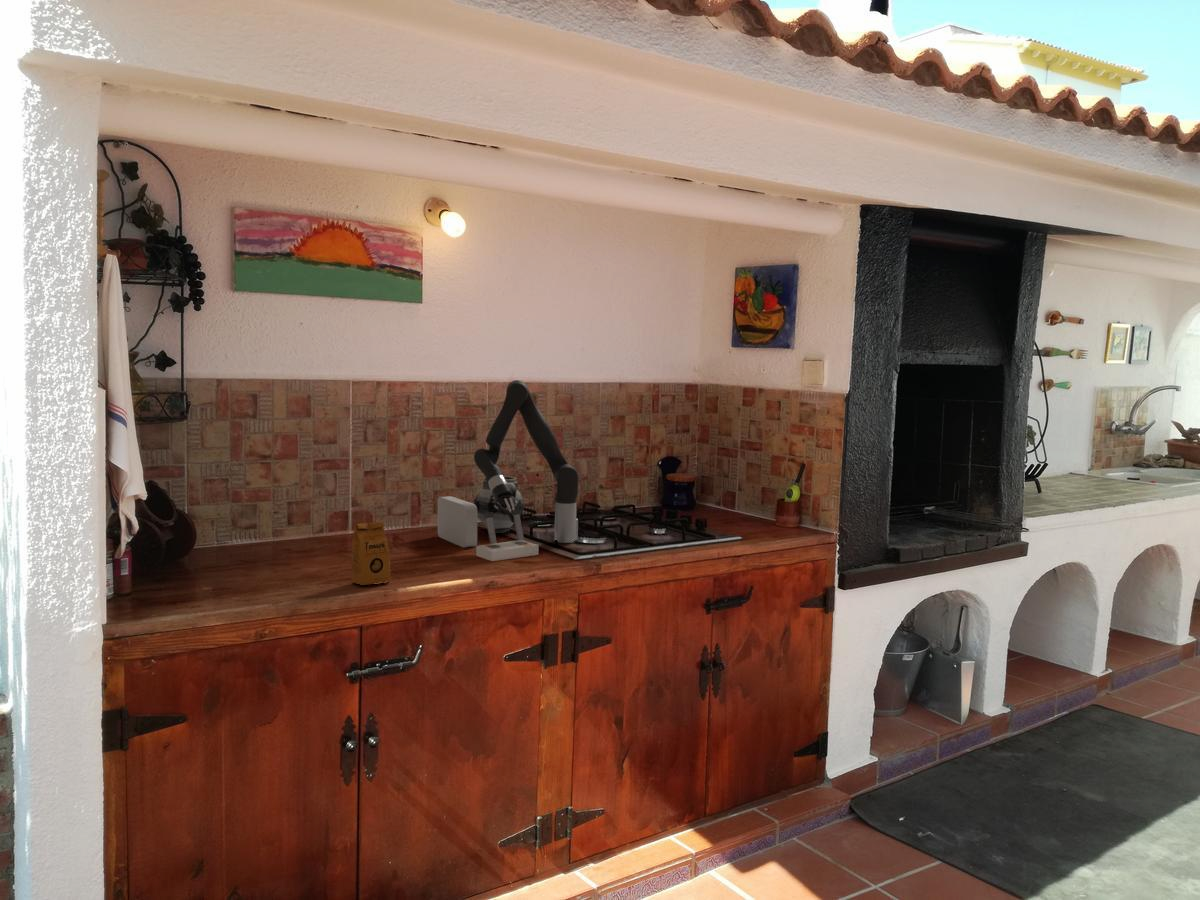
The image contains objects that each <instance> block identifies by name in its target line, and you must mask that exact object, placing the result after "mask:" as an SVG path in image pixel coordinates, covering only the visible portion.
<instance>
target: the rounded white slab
mask: <svg viewBox="0 0 1200 900" xmlns="http://www.w3.org/2000/svg"><path fill="white" fill-rule="evenodd" d="M437 536H438V537H439V538H440V539H443V540H445V541H447V542H450V543H452V544H454V545H457V546H458V547H461V548H473V547H476V546H478V545H477V544H478V516H477V507H476V505H475V504H474V502H473V503H472V502H469V501H466V500H465V499H464V500H463V499H461V498H458V497H454V496H451V495H450V496H449V495H447V496H439V497H438V499H437Z"/></svg>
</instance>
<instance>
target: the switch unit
mask: <svg viewBox="0 0 1200 900" xmlns="http://www.w3.org/2000/svg"><path fill="white" fill-rule="evenodd" d="M475 547H476V550H475V551H476V553H475V554H476V557H479V558H482V559H485V560H487V561H490V562H497V561H503V560H510V559H517V558H518V559H519V558H525V557H526V558H527V557H530V556H537V555H538V556H539V544H537V543H534V542H529V541H527V540H525V539H524V540H519V541H518V539H517V540H509V541H505V542H504V541H503V542H497V543H495V544H490V543H487V544H486V543H485V544H482V545H476V546H475Z"/></svg>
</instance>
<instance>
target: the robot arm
mask: <svg viewBox="0 0 1200 900" xmlns="http://www.w3.org/2000/svg"><path fill="white" fill-rule="evenodd" d="M504 398H505V399H504V402H503V404H502V406H501V407H502V408H501V410H500V412H499V413H498V415H497V416H496V418H495V420H494V422H493V424H492V425H491V428H490V429H489V432H488V434H487V436H486V438H485V443H486V444H487V445H488V447H489V448H488V449H485V448H478V449H476V450H475V452H474V454H473V460H474V463H475V465H476V467H477V468H478V469H479V470H480V472H481V473H482V474H483V475H484V476H485V478H486V479H487V481H488V483H489V487H490V489H491V491H492V494H493V496H494V498H495V500H496V504H495V506H494V508H495V509H496V510H497V511H499V512H500V513H502V514H503V515H508V516H509V518H510V520H511V522H513V523H514V524H515V522H514V516H512V515H511V511H512V510H517V509H519V508H520V505H521V501H516V500H515V498H514V497H513V496H512V492H511V490H510V487H509V485H508V483H507V481H506V479H505V478H504V476H505V475H504V474H503V472H502V470H501V468H500V467H499V466H498V465H496V464H497V462H498V461H499V458H500V452H501V447H502V444H503V442H504V440H505V438H506V436H507V434H508V432H509V429H510V427H511V424H512V422H513V420H514V417H515V416H516V415H517V412H518V411H519V413H520V415H521V417H522V419H523V423H524V425H525V426H526V429H527V432H528V434H529V436H530V438H531V439H532V441H533V443H534V445H535V446H536V447H537V449H538V451H539V452H540V454H541V455H542V456H543V458H544V459H545V460H546V462H547V464H548V466H549V468H550V470H551V473H552V476H553V478H554V480H555V481H556V494H555V499H554V502H555V504H554V507H555V508H554V541H555V540H557V541H558V542H557V543H560V544H569V543H575V542H576V541H575V540H579V539H578V538H579V535H578V534H579V533H578V531H579V519H578V518H577V498H578V494H579V473H578V471H577V469H576V468H575V467H573V466H571V464H570V463H569V462H568V461H567V459H566V458H565V456H564V455H563V453H562V451H561V449H560V446H559V443H558V440H557V437H556V435H555V433H554V431H553V430H552V428H551V426H550V424H549V423H548V421H547V419H546V418H545V417H544V415H543V414H542V412H541V411H540V410H539V408H538V407H537V405H536V403H535V401H534V399H533V397H532V396H531V393H530V390H529V387H528V385H527V384H526V383H525V382H524V381H522V380H518V379H516V380H512V381H511V382H509V384H508V386H507V387H506V395H505V397H504ZM514 503H515V506H516V507H515V506H514ZM514 507H515V508H514ZM502 510H503V511H502ZM574 541H575V542H574Z"/></svg>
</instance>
